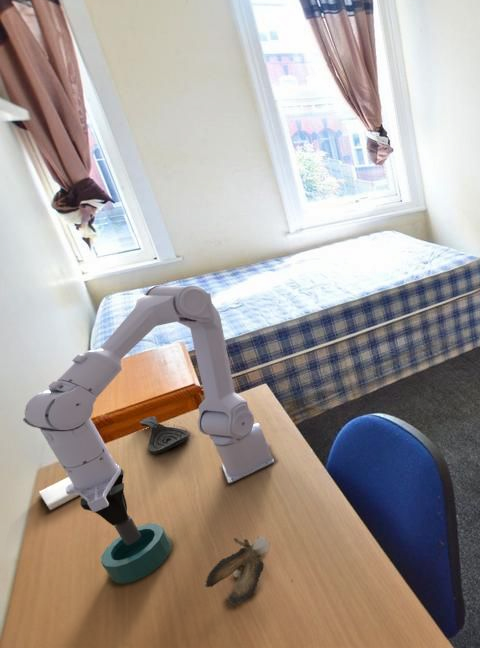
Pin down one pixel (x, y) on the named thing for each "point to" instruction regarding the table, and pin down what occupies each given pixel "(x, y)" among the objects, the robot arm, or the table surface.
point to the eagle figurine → (241, 569)
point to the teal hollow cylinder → (136, 554)
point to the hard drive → (57, 494)
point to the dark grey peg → (128, 531)
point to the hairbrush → (163, 435)
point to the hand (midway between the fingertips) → (120, 517)
